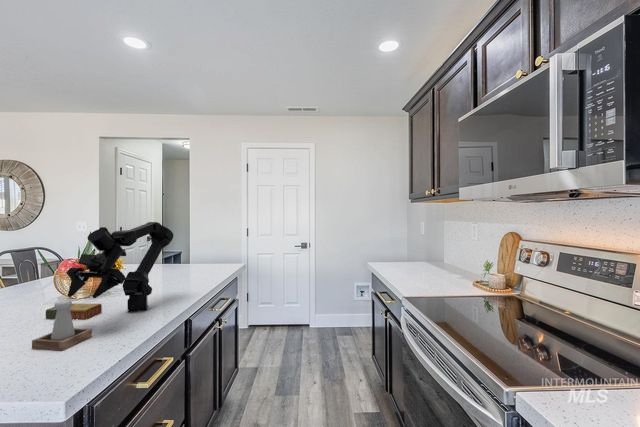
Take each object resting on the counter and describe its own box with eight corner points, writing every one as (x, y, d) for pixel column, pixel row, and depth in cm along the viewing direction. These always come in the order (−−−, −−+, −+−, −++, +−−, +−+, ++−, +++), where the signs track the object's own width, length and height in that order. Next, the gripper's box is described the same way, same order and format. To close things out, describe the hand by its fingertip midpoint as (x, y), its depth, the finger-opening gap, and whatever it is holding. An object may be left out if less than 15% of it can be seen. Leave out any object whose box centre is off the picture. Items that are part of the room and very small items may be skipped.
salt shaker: (48, 348, 94) (48, 304, 93) (53, 341, 99) (53, 299, 99) (72, 344, 96) (72, 302, 96) (77, 337, 101) (76, 297, 101)
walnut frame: (64, 335, 103) (64, 327, 103) (91, 337, 102) (91, 329, 102) (31, 348, 93) (31, 340, 93) (62, 350, 92) (62, 342, 92)
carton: (85, 321, 118) (85, 309, 118) (44, 320, 119) (44, 309, 118) (102, 313, 126) (102, 303, 126) (63, 313, 127) (63, 302, 127)
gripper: (71, 244, 110) (39, 282, 99) (119, 245, 108) (91, 284, 97) (90, 263, 118) (62, 300, 107) (135, 264, 115) (111, 303, 105)
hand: (81, 297), depth 104 cm, fingers open, 9 cm apart
